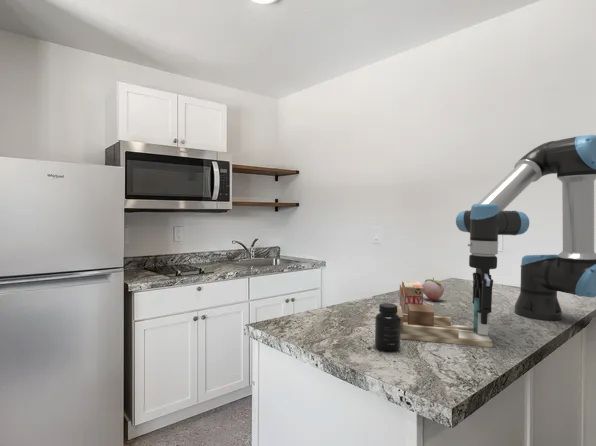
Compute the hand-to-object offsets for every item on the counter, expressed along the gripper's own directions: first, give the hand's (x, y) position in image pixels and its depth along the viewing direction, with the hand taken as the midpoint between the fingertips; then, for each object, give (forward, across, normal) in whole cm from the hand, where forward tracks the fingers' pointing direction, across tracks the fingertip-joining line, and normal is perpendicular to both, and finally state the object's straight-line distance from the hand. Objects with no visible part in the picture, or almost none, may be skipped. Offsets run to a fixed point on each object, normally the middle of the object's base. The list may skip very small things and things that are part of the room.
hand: (480, 331), depth 110 cm
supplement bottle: (+2, +16, -28) cm, 32 cm away
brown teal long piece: (0, 0, -10) cm, 10 cm away
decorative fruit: (+2, -49, -8) cm, 50 cm away
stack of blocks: (+3, -24, -19) cm, 30 cm away
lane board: (+2, 0, -12) cm, 12 cm away
